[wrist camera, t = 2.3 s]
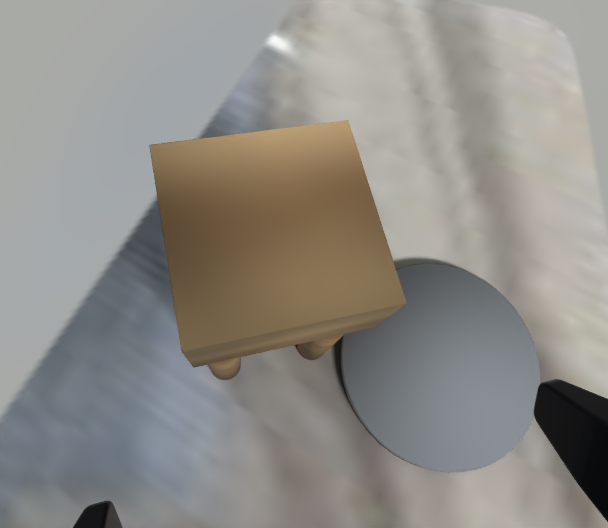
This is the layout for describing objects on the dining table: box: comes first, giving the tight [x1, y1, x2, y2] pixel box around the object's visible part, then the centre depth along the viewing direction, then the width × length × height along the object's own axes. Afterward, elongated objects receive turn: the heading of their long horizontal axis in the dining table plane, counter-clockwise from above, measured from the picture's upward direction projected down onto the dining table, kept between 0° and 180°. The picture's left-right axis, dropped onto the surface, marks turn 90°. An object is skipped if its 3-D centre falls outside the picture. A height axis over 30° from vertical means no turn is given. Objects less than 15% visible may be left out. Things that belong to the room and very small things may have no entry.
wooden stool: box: [150, 120, 407, 380], centre depth 18 cm, size 6×6×10 cm
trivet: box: [340, 264, 540, 472], centre depth 22 cm, size 10×10×1 cm
